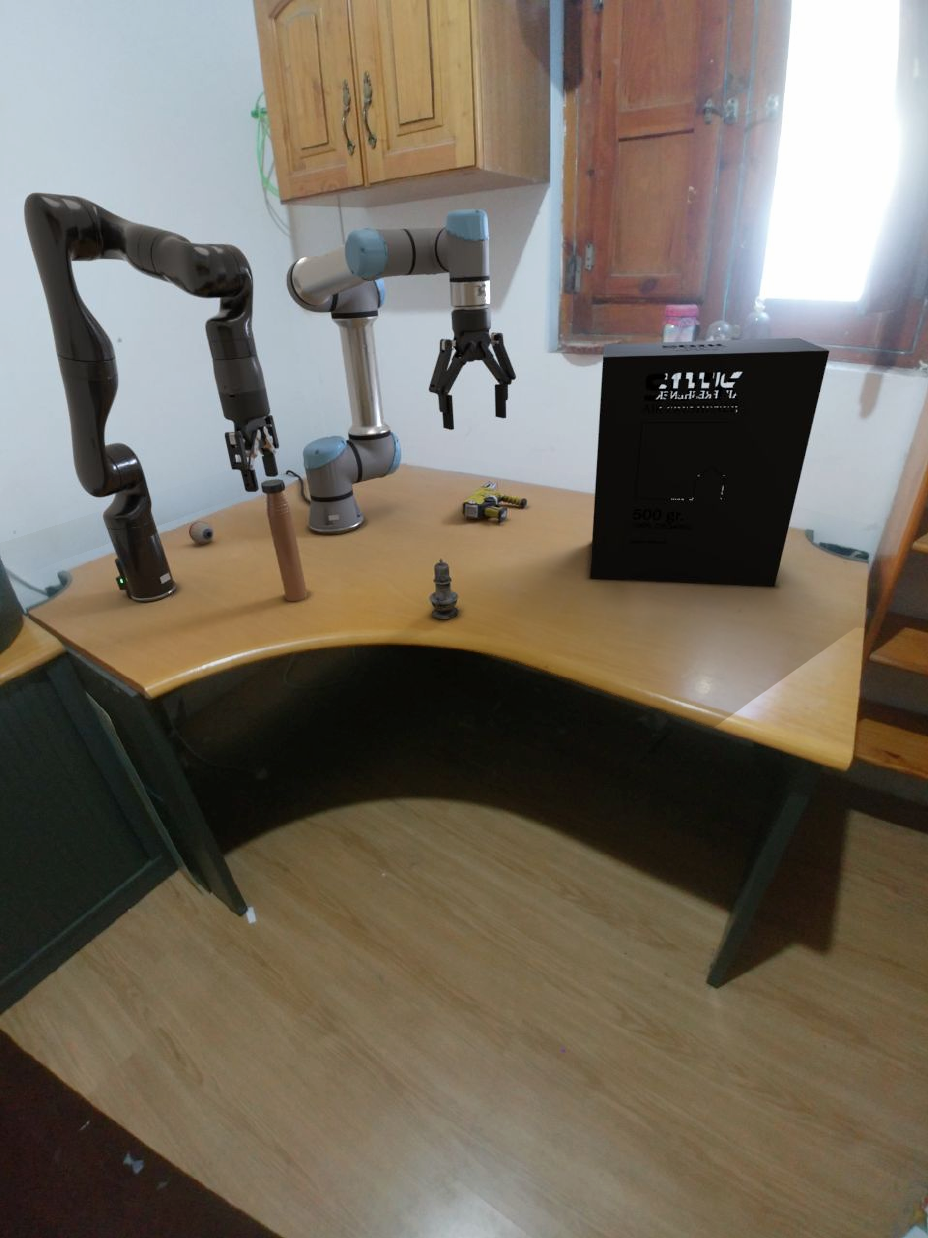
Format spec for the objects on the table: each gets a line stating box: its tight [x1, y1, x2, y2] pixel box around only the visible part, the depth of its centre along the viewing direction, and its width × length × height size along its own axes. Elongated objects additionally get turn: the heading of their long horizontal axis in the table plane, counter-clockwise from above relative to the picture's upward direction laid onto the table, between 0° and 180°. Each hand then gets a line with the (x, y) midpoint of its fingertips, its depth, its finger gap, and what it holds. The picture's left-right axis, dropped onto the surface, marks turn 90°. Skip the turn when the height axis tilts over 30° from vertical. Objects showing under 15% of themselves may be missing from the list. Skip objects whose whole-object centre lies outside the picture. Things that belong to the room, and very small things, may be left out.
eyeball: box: [188, 520, 214, 545], centre depth 161 cm, size 6×6×6 cm
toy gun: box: [461, 480, 528, 523], centre depth 173 cm, size 5×24×15 cm
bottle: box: [265, 491, 308, 602], centre depth 126 cm, size 5×5×25 cm
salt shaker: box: [428, 558, 459, 620], centre depth 120 cm, size 6×6×12 cm
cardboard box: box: [589, 337, 830, 587], centre depth 126 cm, size 38×20×45 cm, turn 78°
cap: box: [260, 478, 286, 495], centre depth 120 cm, size 4×4×2 cm
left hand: (262, 483), depth 107 cm, fingers open, 8 cm apart
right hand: (475, 422), depth 125 cm, fingers open, 13 cm apart
